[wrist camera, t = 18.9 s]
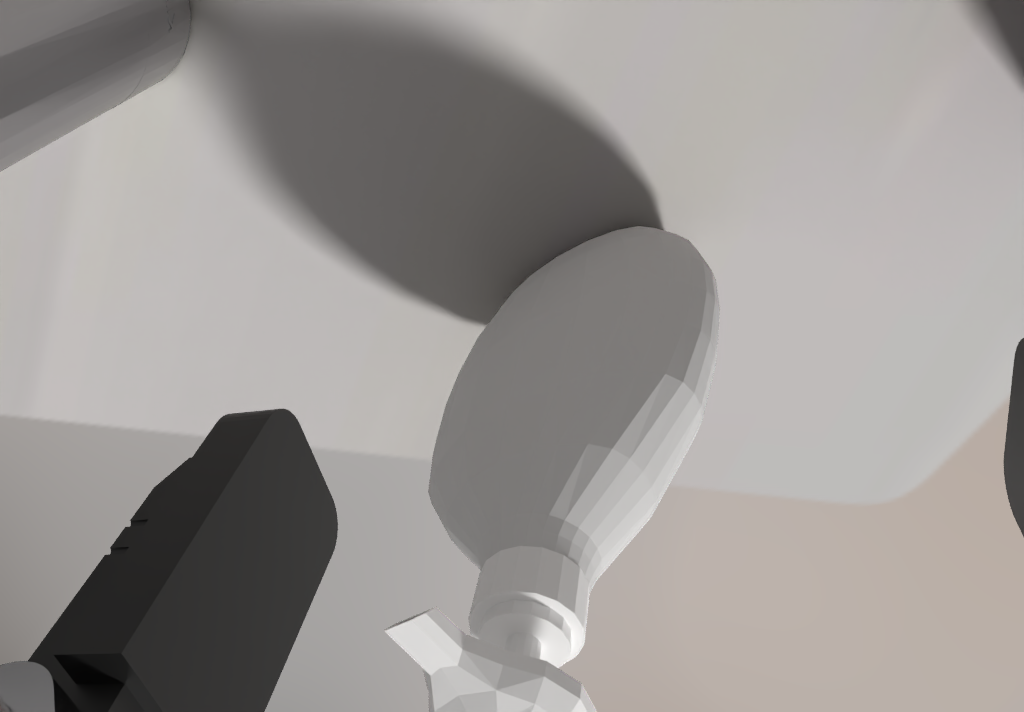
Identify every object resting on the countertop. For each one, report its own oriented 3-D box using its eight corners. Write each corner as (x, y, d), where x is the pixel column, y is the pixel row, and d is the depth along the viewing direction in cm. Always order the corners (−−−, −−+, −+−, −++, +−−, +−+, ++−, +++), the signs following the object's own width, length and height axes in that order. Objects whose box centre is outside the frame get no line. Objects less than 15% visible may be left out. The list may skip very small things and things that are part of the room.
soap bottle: (655, 135, 40) (632, 568, 18) (741, 264, 43) (815, 773, 21) (428, 281, 46) (203, 733, 24) (516, 385, 49) (388, 872, 27)
